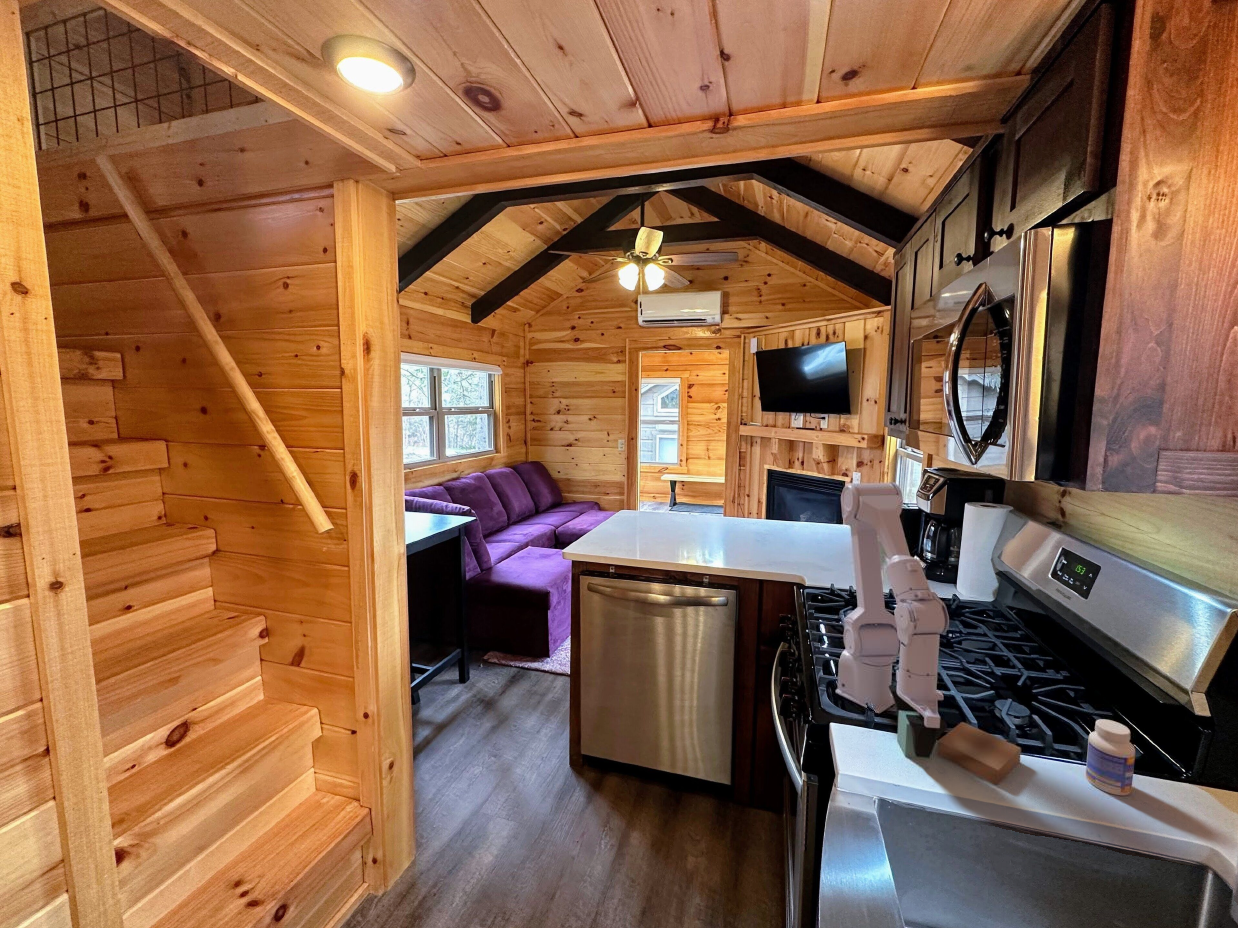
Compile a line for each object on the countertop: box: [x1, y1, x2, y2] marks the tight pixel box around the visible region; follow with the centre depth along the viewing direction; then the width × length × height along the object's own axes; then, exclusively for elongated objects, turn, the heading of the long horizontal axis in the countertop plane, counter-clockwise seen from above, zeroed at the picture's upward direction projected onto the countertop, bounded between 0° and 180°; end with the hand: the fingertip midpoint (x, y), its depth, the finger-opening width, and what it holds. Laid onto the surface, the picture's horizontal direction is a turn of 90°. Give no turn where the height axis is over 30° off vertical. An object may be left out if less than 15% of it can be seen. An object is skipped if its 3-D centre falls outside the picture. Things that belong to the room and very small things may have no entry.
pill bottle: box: [1085, 718, 1136, 796], centre depth 84 cm, size 5×5×10 cm
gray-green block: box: [896, 710, 932, 760], centre depth 93 cm, size 4×4×6 cm
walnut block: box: [936, 721, 1022, 786], centre depth 90 cm, size 9×9×3 cm
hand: (913, 741), depth 93 cm, fingers open, 7 cm apart
